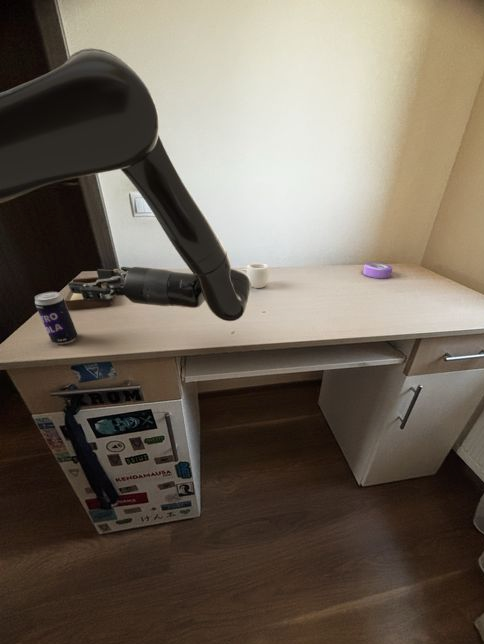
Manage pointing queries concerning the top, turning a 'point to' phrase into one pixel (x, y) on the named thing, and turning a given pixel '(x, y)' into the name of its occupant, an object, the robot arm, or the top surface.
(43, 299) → the beverage can
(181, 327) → the top surface
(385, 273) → the tape roll
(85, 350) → the top surface
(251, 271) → the mug
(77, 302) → the wooden serving tray
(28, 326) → the top surface
